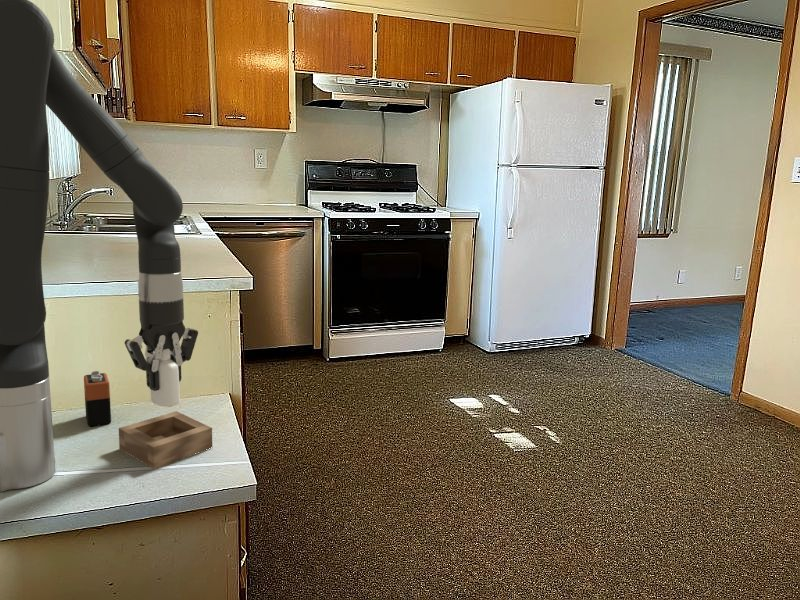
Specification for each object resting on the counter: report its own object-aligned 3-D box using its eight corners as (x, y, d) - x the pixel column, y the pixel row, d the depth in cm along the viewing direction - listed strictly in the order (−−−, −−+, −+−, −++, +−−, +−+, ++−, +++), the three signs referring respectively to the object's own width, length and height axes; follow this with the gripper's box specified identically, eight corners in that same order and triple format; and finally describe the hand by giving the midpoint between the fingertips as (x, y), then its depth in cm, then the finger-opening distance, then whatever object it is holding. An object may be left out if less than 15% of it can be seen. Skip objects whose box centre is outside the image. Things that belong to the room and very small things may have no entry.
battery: (87, 427, 125) (85, 380, 123) (85, 415, 130) (83, 370, 128) (111, 424, 127) (109, 377, 125) (108, 412, 133) (106, 368, 131)
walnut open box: (154, 471, 109) (153, 447, 108) (119, 450, 116) (118, 428, 115) (212, 449, 118) (212, 427, 117) (176, 432, 125) (176, 411, 124)
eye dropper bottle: (173, 396, 119) (171, 336, 116) (181, 405, 114) (179, 343, 112) (149, 400, 116) (146, 338, 114) (157, 410, 112) (153, 346, 109)
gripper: (134, 305, 103) (139, 402, 107) (207, 294, 114) (209, 382, 118) (112, 298, 108) (117, 391, 111) (184, 288, 119) (186, 373, 122)
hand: (164, 386), depth 115 cm, fingers closed on eye dropper bottle, 3 cm apart
